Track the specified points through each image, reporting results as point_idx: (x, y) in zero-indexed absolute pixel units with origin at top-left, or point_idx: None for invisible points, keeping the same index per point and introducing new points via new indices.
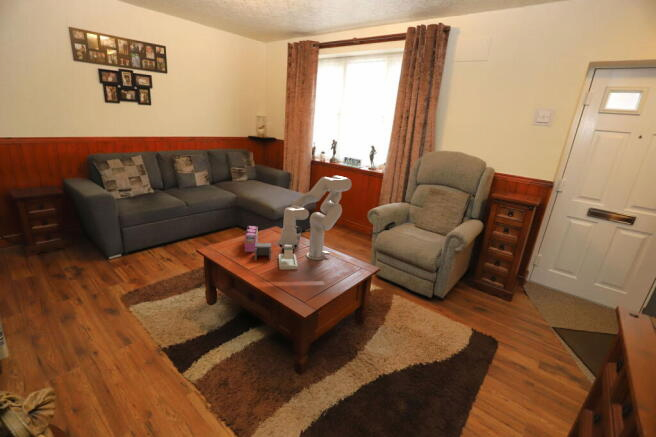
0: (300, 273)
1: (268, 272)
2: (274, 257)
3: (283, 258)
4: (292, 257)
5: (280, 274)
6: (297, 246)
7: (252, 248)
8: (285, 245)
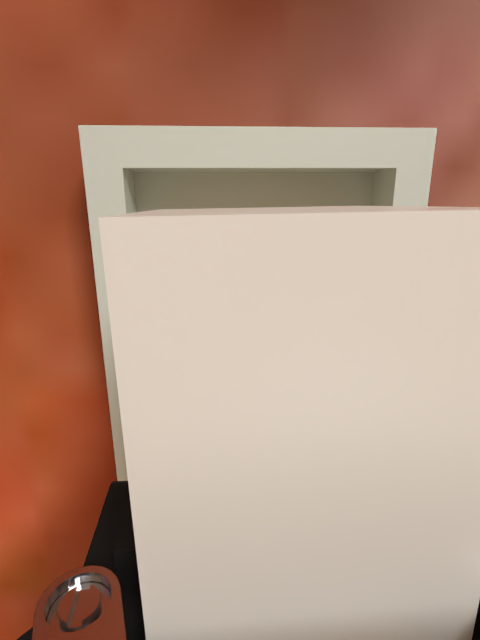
0: None
1: (10, 608)
2: (22, 123)
3: None
4: (356, 172)
5: None
6: None
7: None
8: (213, 581)
